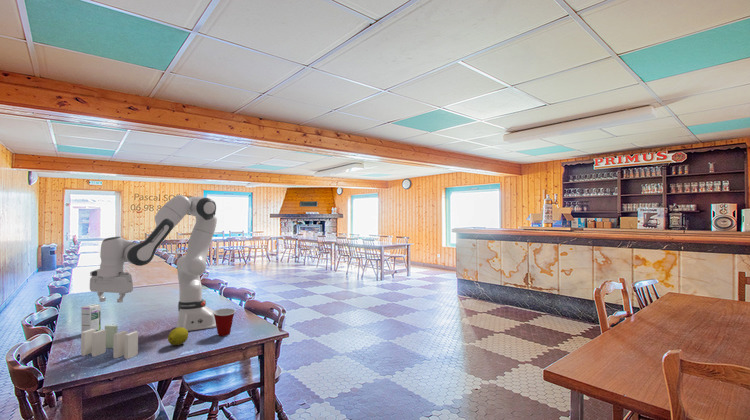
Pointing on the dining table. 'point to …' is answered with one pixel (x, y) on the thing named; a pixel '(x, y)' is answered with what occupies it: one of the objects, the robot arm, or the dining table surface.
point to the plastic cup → (224, 320)
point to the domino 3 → (110, 335)
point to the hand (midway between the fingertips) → (111, 301)
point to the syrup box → (91, 317)
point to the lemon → (178, 336)
